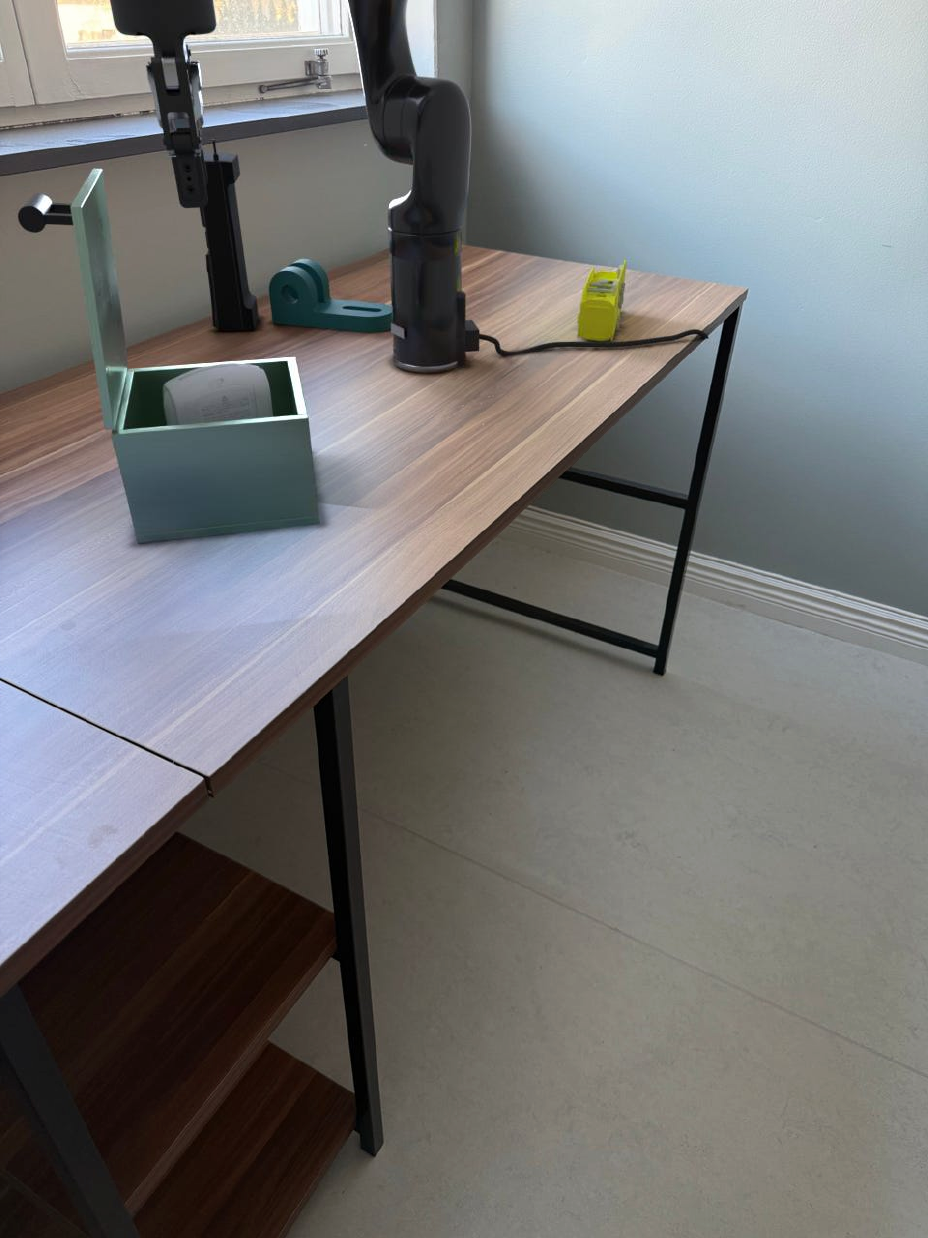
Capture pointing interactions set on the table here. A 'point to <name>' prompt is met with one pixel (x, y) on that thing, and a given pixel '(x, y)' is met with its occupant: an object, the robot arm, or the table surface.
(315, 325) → the bracket
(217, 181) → the portable radio
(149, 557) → the table surface
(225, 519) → the box
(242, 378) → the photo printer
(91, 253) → the lid
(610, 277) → the yellow toy chassis
